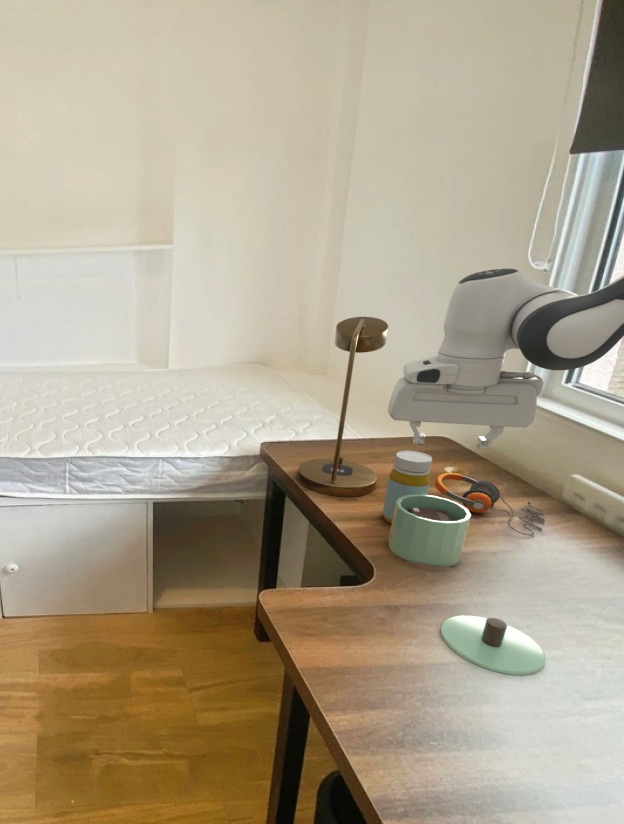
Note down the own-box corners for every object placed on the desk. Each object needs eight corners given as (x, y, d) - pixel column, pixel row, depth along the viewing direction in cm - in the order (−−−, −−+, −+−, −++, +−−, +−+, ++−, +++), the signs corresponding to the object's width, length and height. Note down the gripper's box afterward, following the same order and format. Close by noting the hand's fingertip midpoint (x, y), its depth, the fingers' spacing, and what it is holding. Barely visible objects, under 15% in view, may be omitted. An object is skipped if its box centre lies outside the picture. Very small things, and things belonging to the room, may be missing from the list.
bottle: (413, 532, 114) (428, 466, 108) (376, 520, 119) (388, 457, 113) (425, 520, 118) (440, 455, 112) (388, 509, 123) (401, 447, 117)
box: (446, 559, 104) (455, 525, 101) (409, 554, 106) (416, 521, 103) (438, 543, 109) (446, 510, 106) (402, 538, 111) (409, 506, 108)
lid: (526, 631, 86) (534, 606, 84) (557, 687, 76) (567, 661, 74) (432, 614, 91) (438, 591, 89) (449, 665, 81) (456, 640, 79)
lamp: (380, 460, 147) (406, 315, 133) (372, 502, 126) (402, 337, 112) (309, 450, 156) (326, 314, 142) (291, 488, 135) (309, 334, 121)
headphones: (543, 529, 107) (430, 479, 119) (528, 550, 109) (418, 499, 122) (561, 500, 116) (454, 457, 129) (547, 520, 119) (443, 476, 132)
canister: (451, 540, 110) (462, 498, 107) (466, 572, 101) (478, 527, 97) (384, 532, 115) (392, 491, 111) (392, 561, 105) (401, 517, 102)
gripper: (539, 367, 92) (518, 444, 97) (394, 364, 100) (381, 435, 105) (554, 377, 86) (530, 458, 91) (399, 372, 95) (386, 447, 100)
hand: (449, 445), depth 98 cm, fingers open, 8 cm apart
